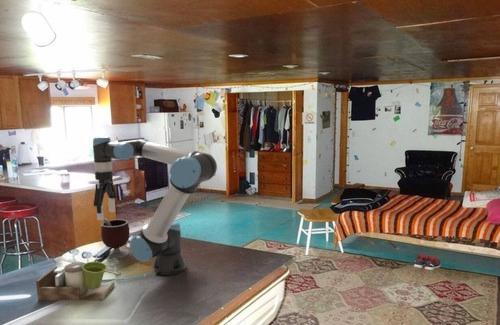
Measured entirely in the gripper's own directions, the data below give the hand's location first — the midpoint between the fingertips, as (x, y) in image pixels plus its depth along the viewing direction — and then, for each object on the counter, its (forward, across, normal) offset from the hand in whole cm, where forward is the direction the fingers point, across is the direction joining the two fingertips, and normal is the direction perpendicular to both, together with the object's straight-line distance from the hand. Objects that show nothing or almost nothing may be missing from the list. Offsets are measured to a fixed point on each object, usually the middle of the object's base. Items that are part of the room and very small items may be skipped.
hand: (106, 215), depth 185 cm
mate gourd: (+27, -20, -5) cm, 34 cm away
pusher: (+25, +24, -11) cm, 37 cm away
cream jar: (+26, +24, -5) cm, 35 cm away
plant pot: (+23, +24, +2) cm, 34 cm away
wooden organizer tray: (+27, +24, -4) cm, 36 cm away
